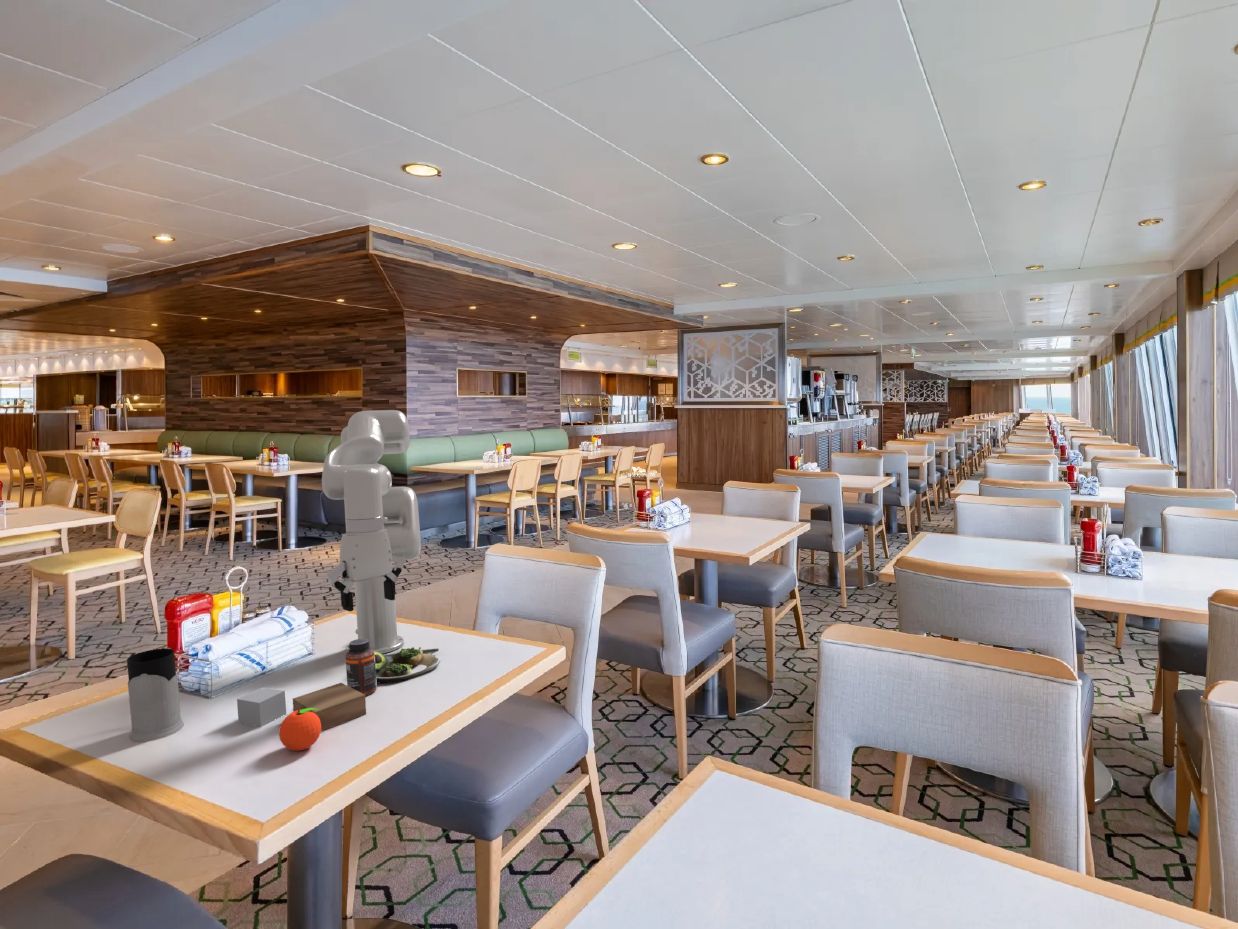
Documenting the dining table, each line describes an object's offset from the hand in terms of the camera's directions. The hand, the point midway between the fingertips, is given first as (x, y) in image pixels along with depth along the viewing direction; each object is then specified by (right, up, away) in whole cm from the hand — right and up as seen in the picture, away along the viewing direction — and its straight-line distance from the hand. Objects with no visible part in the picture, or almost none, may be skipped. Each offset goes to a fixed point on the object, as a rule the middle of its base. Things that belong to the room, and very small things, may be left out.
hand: (369, 604), depth 145 cm
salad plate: (+1, -19, +15) cm, 24 cm away
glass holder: (-37, -22, -11) cm, 44 cm away
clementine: (-4, -22, -22) cm, 31 cm away
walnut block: (-4, -20, -10) cm, 23 cm away
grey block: (-18, -21, -10) cm, 29 cm away
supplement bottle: (-2, -20, +2) cm, 20 cm away
